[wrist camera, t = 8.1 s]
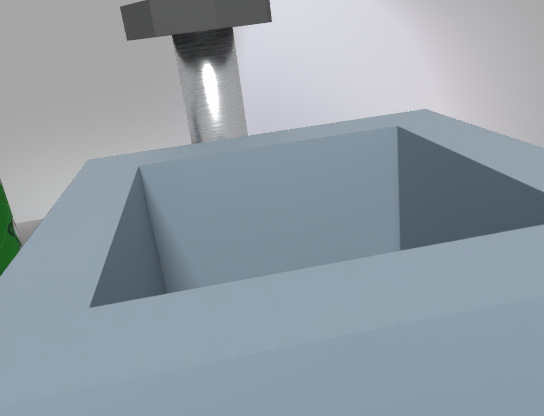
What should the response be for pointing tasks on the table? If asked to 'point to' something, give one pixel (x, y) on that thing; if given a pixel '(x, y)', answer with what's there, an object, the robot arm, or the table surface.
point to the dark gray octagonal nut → (190, 16)
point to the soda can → (7, 234)
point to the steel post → (210, 84)
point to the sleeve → (287, 278)
